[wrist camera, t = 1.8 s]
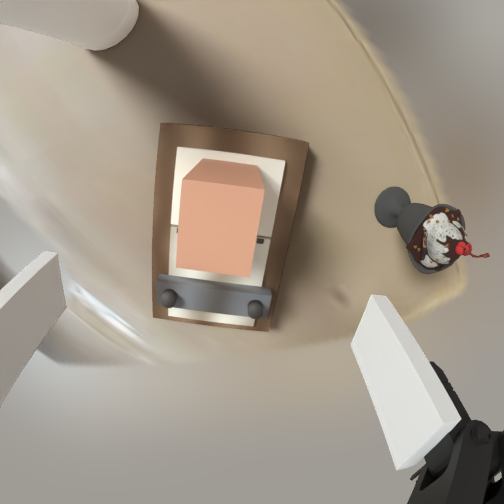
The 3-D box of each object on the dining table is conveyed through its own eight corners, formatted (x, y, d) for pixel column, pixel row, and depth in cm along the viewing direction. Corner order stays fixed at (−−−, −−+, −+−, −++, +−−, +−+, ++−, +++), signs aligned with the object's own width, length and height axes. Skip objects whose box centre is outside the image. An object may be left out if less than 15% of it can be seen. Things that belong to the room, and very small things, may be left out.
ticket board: (157, 305, 37) (146, 334, 32) (166, 122, 28) (150, 124, 23) (266, 319, 38) (270, 350, 33) (303, 140, 29) (317, 145, 24)
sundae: (425, 201, 32) (507, 254, 18) (393, 243, 34) (461, 314, 21) (391, 167, 30) (478, 207, 17) (356, 213, 32) (424, 279, 19)
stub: (171, 222, 30) (140, 272, 20) (178, 146, 26) (143, 162, 17) (270, 235, 31) (283, 291, 21) (284, 160, 27) (307, 183, 18)
